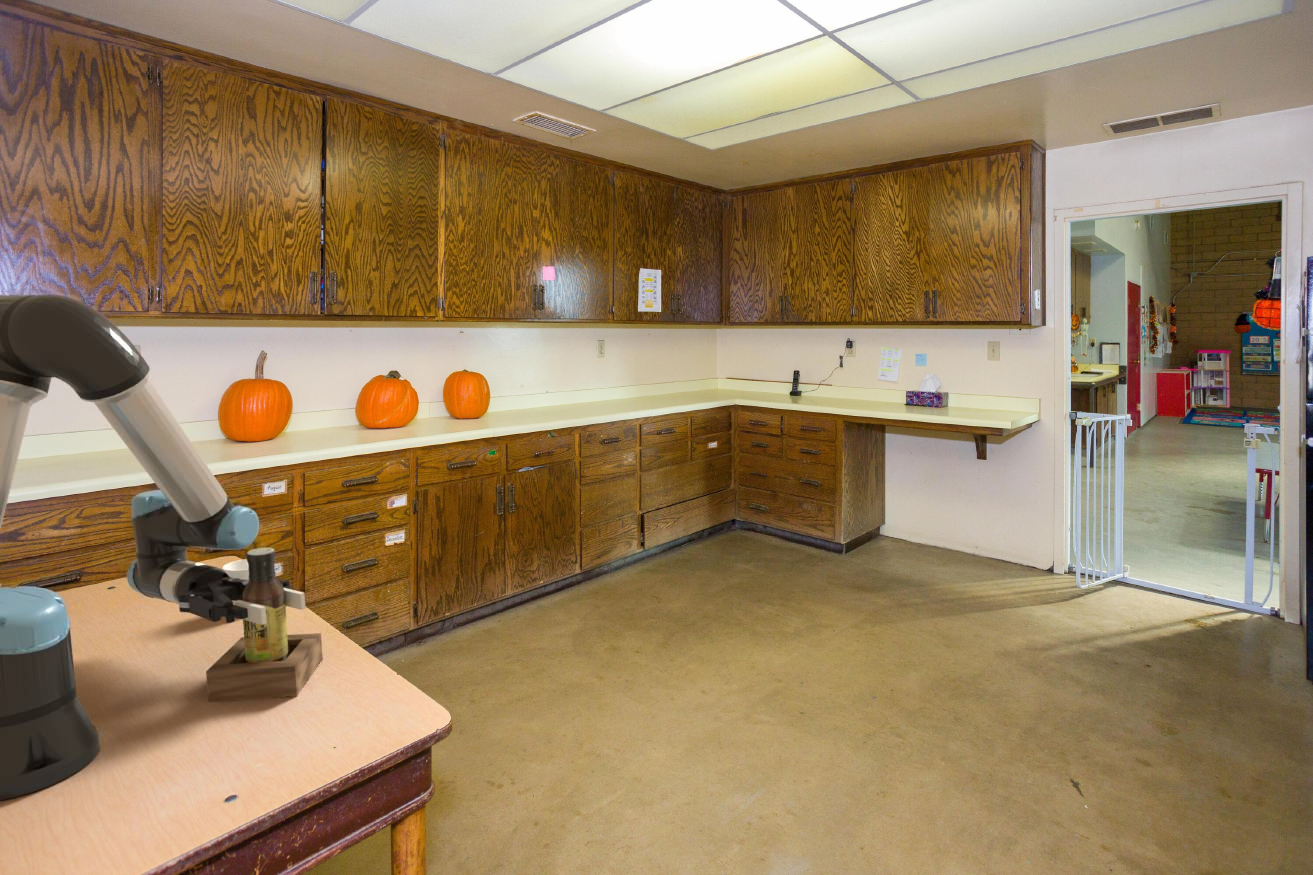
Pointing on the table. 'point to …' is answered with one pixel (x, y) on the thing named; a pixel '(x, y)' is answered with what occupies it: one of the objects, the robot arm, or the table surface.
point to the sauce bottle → (269, 593)
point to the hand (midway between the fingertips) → (283, 608)
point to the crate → (264, 671)
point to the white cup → (237, 570)
